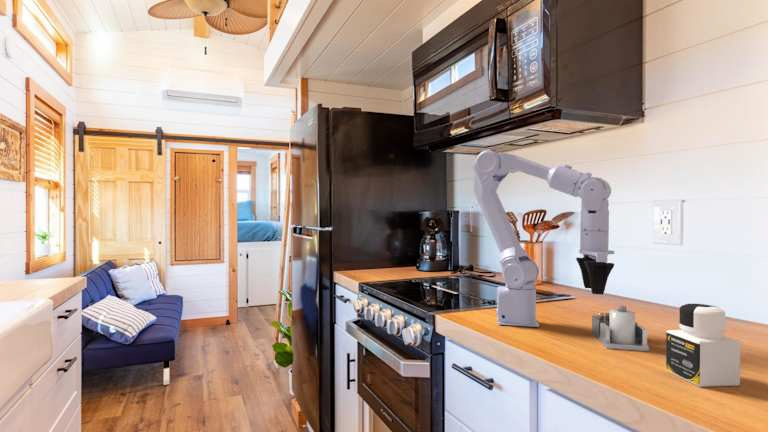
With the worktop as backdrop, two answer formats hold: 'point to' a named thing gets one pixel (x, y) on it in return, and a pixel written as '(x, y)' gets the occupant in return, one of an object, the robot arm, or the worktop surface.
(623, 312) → the white cylinder
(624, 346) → the grey tray
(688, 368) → the medicine bottle
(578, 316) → the worktop surface
